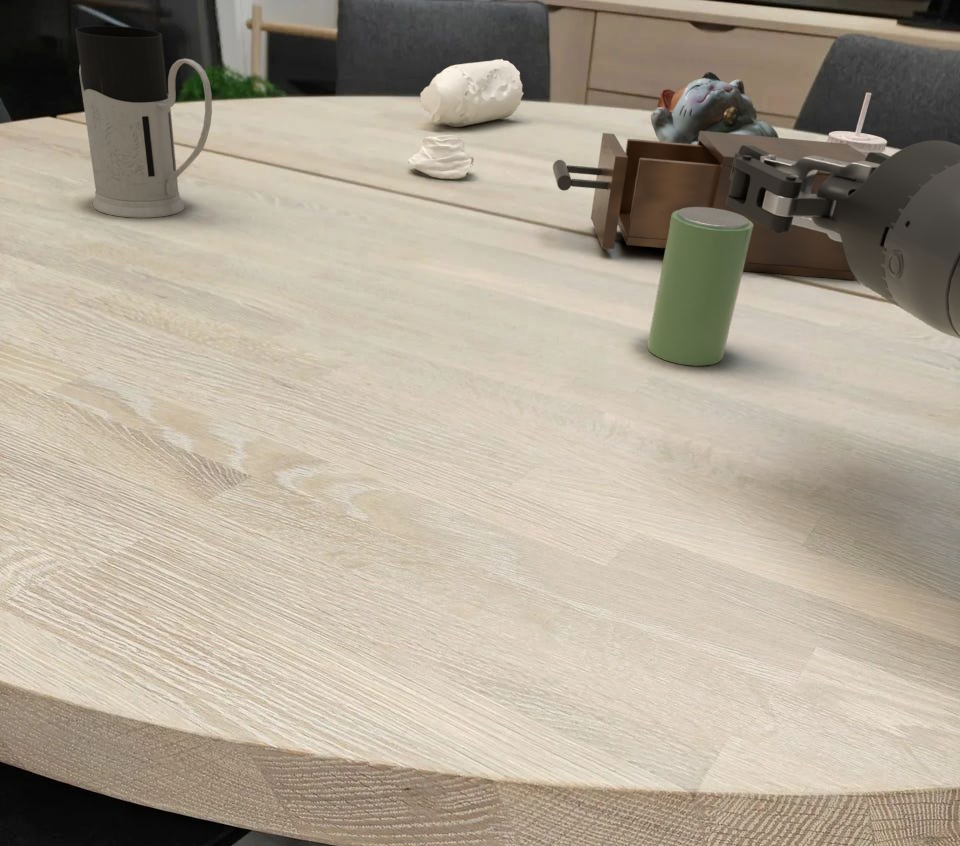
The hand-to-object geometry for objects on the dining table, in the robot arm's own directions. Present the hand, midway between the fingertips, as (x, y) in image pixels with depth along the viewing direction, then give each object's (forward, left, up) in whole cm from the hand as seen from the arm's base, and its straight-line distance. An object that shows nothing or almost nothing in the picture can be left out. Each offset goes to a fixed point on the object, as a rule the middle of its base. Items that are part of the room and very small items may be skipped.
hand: (804, 167), depth 61 cm
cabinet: (-11, -41, -16) cm, 45 cm away
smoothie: (-23, -55, -16) cm, 62 cm away
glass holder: (+50, -39, -16) cm, 66 cm away
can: (+2, -11, -16) cm, 19 cm away
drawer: (+2, -41, -15) cm, 44 cm away
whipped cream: (+23, -66, -16) cm, 72 cm away
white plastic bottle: (+19, -100, -16) cm, 103 cm away
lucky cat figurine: (-12, -75, -16) cm, 78 cm away
